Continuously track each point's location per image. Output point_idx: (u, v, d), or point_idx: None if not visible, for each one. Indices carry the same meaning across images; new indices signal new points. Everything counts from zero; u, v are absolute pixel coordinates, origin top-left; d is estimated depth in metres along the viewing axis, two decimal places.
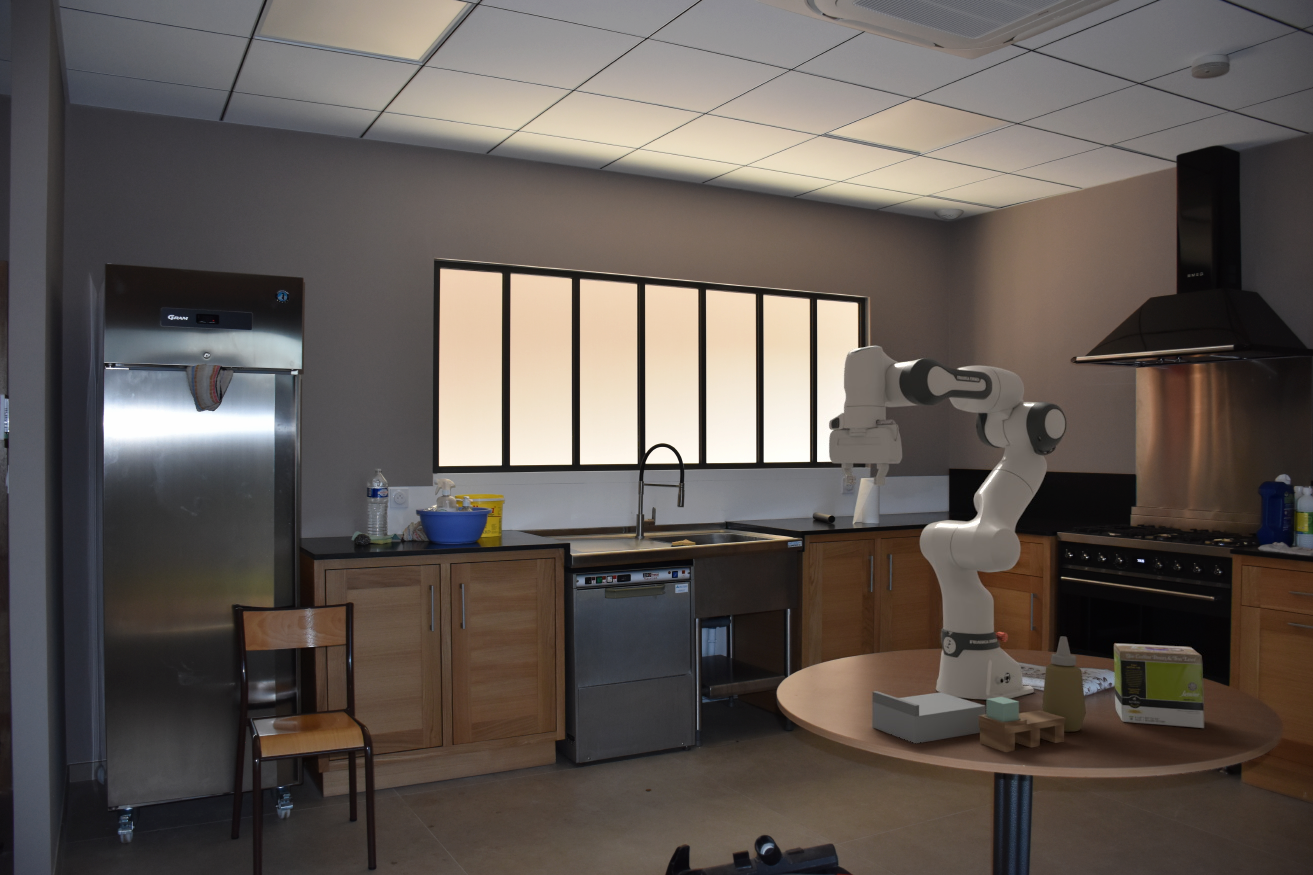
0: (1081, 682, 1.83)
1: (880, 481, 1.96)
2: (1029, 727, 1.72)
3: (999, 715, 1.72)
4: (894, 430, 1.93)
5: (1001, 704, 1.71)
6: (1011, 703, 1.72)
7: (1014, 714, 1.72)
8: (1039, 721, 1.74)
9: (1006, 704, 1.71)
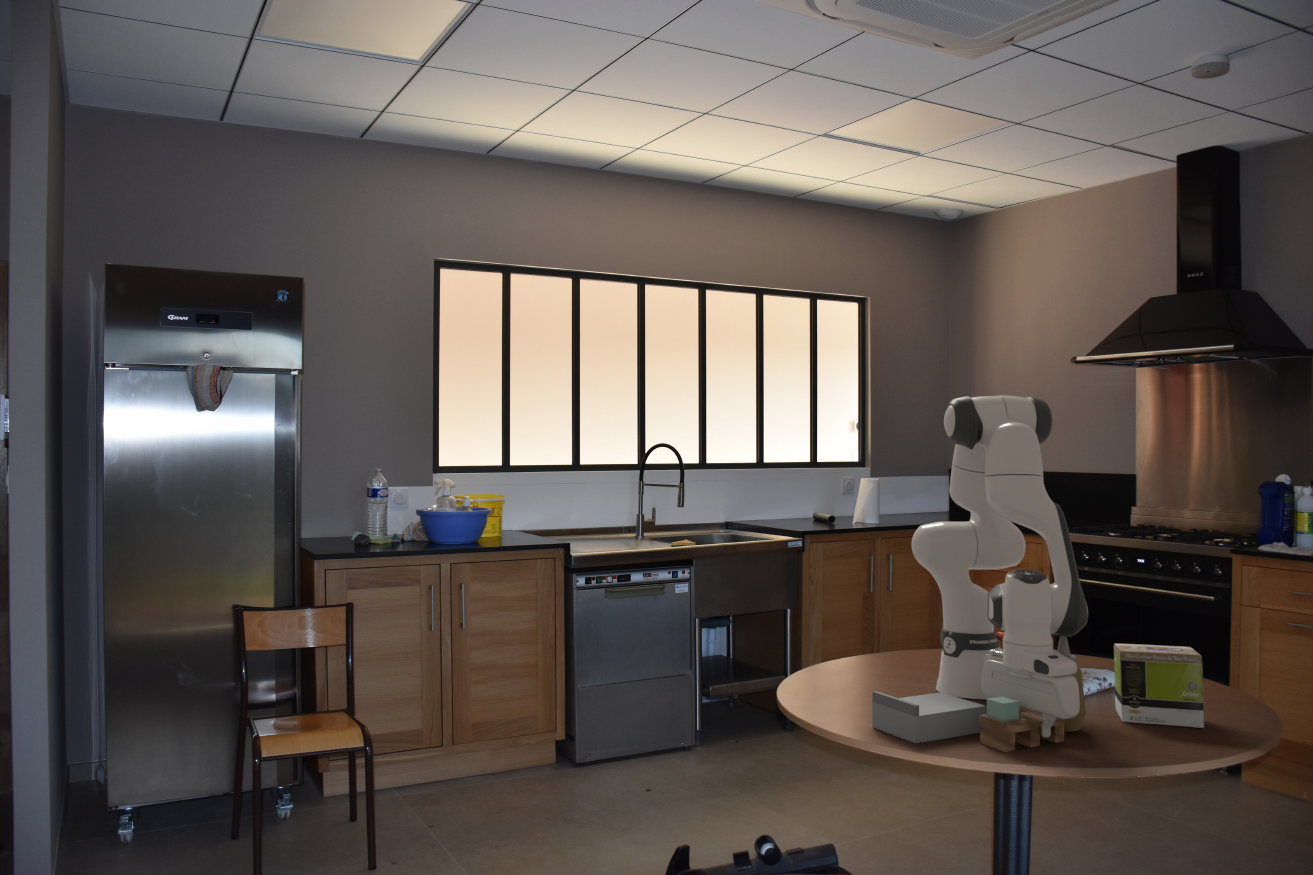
0: (1081, 682, 1.83)
1: None
2: (1029, 727, 1.72)
3: (999, 714, 1.72)
4: None
5: (1001, 704, 1.71)
6: (1011, 703, 1.72)
7: (1015, 714, 1.72)
8: (1039, 721, 1.74)
9: (1006, 704, 1.71)
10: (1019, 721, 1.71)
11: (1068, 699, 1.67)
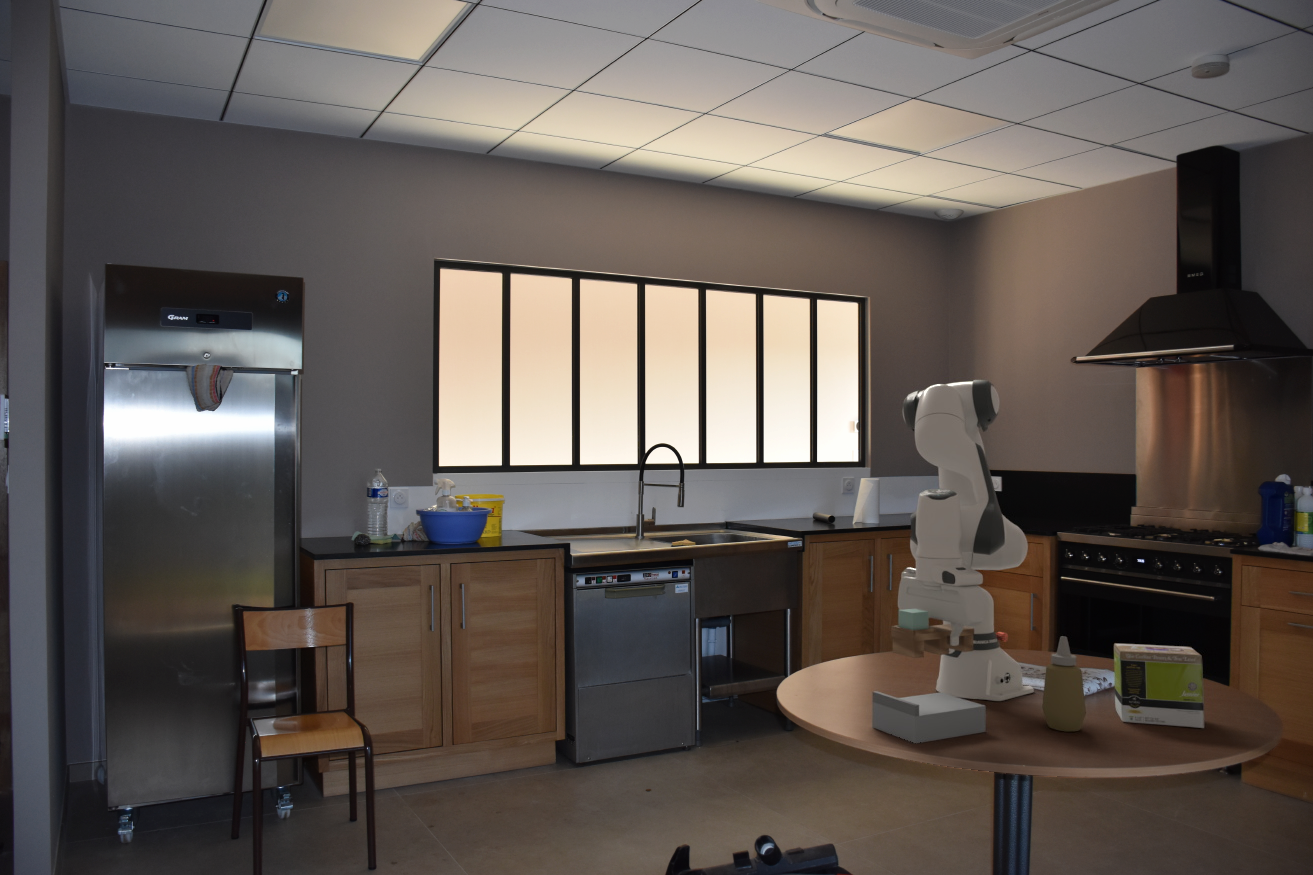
0: (1081, 682, 1.83)
1: None
2: (938, 636, 1.81)
3: (909, 623, 1.80)
4: None
5: (911, 613, 1.80)
6: (921, 613, 1.80)
7: (924, 623, 1.80)
8: (948, 631, 1.82)
9: (916, 613, 1.79)
10: (928, 630, 1.80)
11: (972, 607, 1.76)
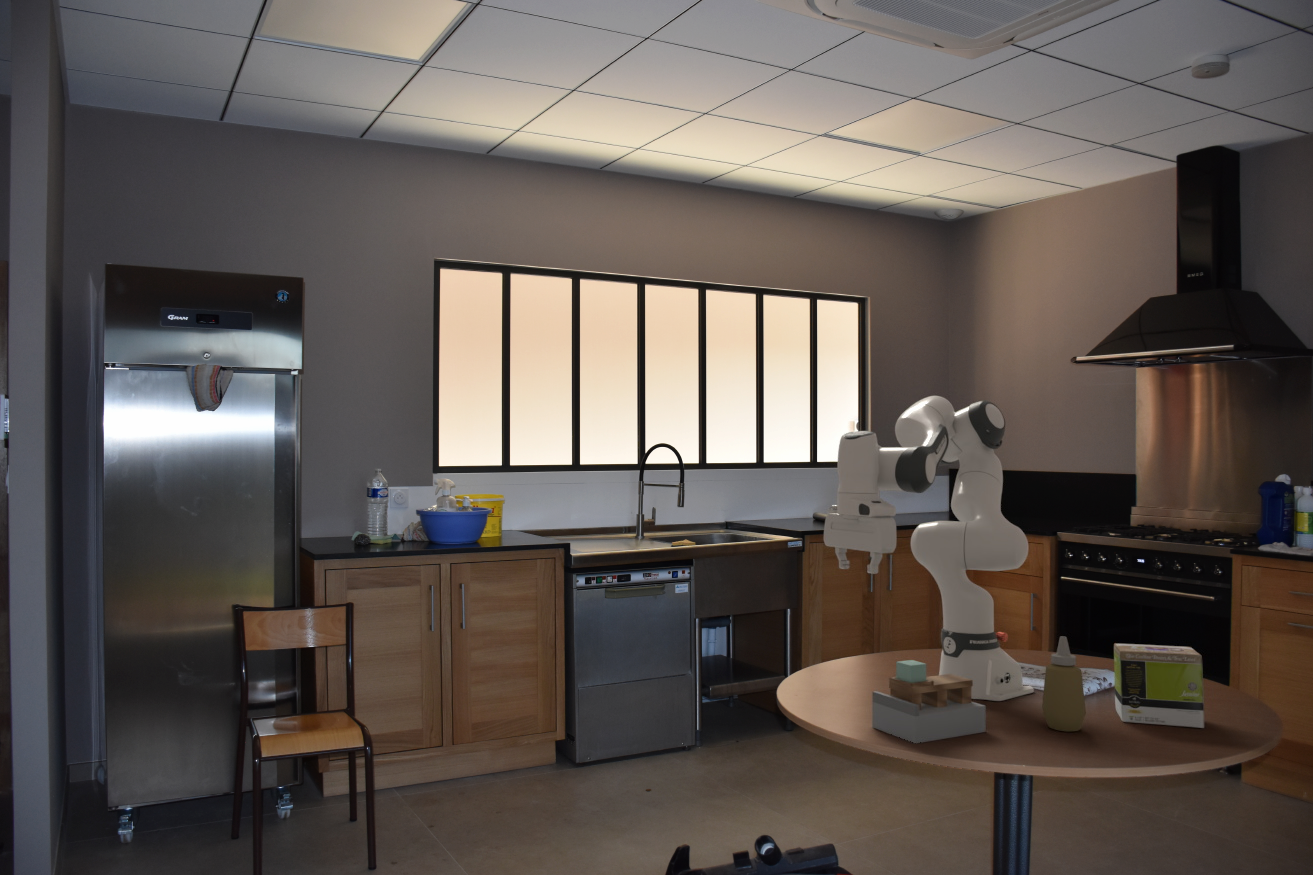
0: (1081, 682, 1.83)
1: None
2: (936, 688, 1.81)
3: (907, 676, 1.80)
4: None
5: (909, 666, 1.80)
6: (918, 665, 1.80)
7: (922, 676, 1.80)
8: (946, 683, 1.82)
9: (913, 666, 1.80)
10: (926, 682, 1.80)
11: (885, 536, 1.91)
